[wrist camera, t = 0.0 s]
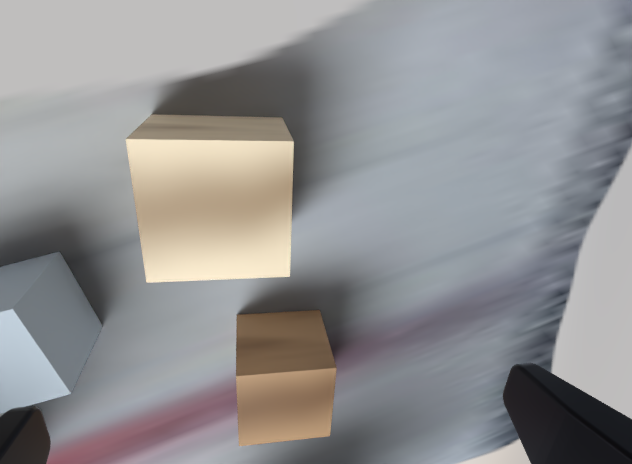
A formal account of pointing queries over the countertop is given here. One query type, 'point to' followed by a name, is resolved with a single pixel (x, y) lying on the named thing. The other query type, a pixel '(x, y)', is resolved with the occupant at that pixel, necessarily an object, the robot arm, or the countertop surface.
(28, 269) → the slate cube
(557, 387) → the robot arm
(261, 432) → the walnut cube
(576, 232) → the countertop surface
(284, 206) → the maple block
